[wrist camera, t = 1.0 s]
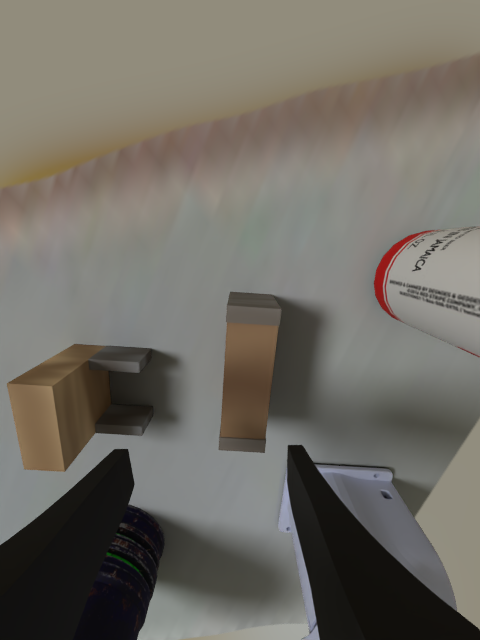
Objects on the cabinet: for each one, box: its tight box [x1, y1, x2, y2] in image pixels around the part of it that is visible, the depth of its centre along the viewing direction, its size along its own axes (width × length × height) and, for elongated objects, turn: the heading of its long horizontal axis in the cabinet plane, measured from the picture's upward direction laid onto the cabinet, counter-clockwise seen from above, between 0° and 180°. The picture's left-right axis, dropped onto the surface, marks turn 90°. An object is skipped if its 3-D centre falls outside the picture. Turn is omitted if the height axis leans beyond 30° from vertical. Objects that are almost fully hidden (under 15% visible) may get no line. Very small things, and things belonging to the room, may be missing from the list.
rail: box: [219, 292, 282, 453], centre depth 18 cm, size 10×3×5 cm, turn 176°
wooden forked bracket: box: [7, 344, 153, 472], centre depth 18 cm, size 6×6×6 cm
